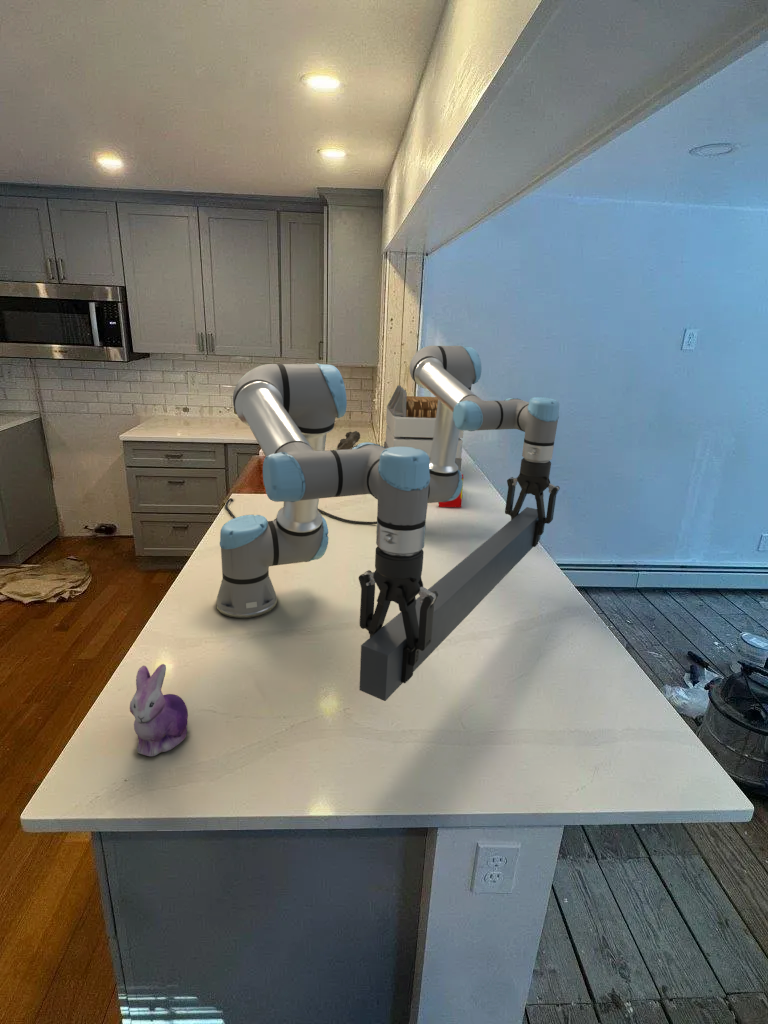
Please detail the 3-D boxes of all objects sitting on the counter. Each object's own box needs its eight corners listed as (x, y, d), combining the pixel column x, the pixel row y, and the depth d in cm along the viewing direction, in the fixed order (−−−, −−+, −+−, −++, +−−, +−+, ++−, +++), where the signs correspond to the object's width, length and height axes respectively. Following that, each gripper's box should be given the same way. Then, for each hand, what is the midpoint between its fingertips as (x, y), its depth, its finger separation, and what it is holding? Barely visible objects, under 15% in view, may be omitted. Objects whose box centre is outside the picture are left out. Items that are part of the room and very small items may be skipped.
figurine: (137, 767, 96) (127, 693, 90) (132, 728, 104) (122, 659, 99) (195, 750, 100) (189, 678, 95) (185, 714, 108) (179, 646, 103)
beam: (522, 535, 160) (526, 506, 157) (540, 539, 158) (544, 510, 155) (359, 690, 93) (361, 644, 90) (385, 701, 90) (387, 655, 87)
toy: (455, 465, 253) (467, 475, 224) (454, 495, 256) (465, 508, 227) (428, 465, 253) (437, 474, 224) (427, 494, 256) (435, 507, 226)
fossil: (337, 437, 322) (357, 422, 317) (347, 450, 325) (368, 435, 320) (330, 450, 302) (352, 434, 297) (341, 464, 305) (363, 448, 300)
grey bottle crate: (382, 463, 289) (386, 382, 275) (445, 464, 293) (451, 384, 279) (390, 482, 257) (394, 392, 243) (460, 483, 261) (468, 394, 247)
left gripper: (338, 541, 90) (336, 665, 98) (441, 571, 81) (429, 704, 89) (364, 527, 96) (360, 645, 104) (462, 553, 87) (449, 680, 95)
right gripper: (498, 456, 147) (488, 538, 155) (568, 468, 138) (553, 555, 146) (508, 450, 153) (498, 530, 161) (575, 462, 144) (561, 546, 153)
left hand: (392, 672), depth 96 cm, fingers closed on beam, 5 cm apart
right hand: (524, 542), depth 154 cm, fingers closed on beam, 5 cm apart
